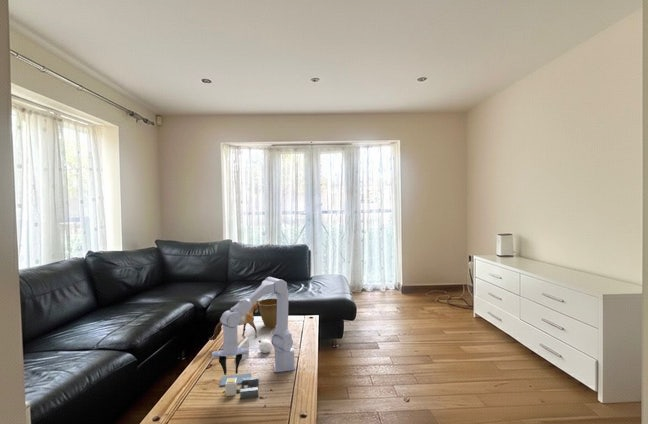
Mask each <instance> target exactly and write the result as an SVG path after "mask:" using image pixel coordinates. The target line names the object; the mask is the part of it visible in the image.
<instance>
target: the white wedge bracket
mask: <svg viewBox="0 0 648 424" xmlns="http://www.w3.org/2000/svg"><path fill="white" fill-rule="evenodd" d="M245 337H246V338H245V339H243V340H242V341H241V342H240V343H238V348H249V349H250V346H249V345H250V343H249V342H250V341H249V339H250V338H249V337H248V336H245ZM235 358H236V355H235V356H234V359H235ZM248 358H250V354H249V355H246V354H245V355H242V359H241V361H243V360H245V359H248Z"/></svg>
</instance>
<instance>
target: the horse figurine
mask: <svg viewBox="0 0 648 424" xmlns="http://www.w3.org/2000/svg"><path fill="white" fill-rule="evenodd" d="M259 301H260V300H257V301H256V302H255V303H253V304H252V309H251V310H249V311H248V312H247V313H246V314H245V315H244V316H243V317H242V318H241V320H240V323H239V324H238V325H237V326H243V329H242V337H243V338H242V339H243V340H244V339H245V338H246V337H247V336H245V333H246V326H247V324H249V325H250V326H251V327H252V329H253V330H254V337H256V338H258V331H257V327H256V325H255V322H254V320H255V317H254V312H255V314H256V313H258V312H259V310H258V309H259V305H258V302H259ZM222 331H223V324H222V323H221V321H219V322H218V323H217V325H216V326H215V327H214V331H213V335H212V336H211V337H209V338H208V340H209V341H216V340H217V339H218V337H219V336H220V334H221V332H222Z"/></svg>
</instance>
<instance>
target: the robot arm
mask: <svg viewBox="0 0 648 424" xmlns="http://www.w3.org/2000/svg"><path fill="white" fill-rule="evenodd" d="M266 294H274V296H276V299H277V322H276V326H275V327H276V328H275V329H274V330H273V332H272V337H271V340H270V342H271V344H272V346H273V349H274V363H273V372H274V373H281V372H290V371H295V365H296V364H295V363H296V361H295V360H296V359H295V348H294V347H293V344H294V339H293V338H292V336H293V335H292V333H291V331H290V330H289V328H288V327H289V297H290V296H289V295H290V293H289V288H288V283H287V281H286V280H283V279H279V278H276V277H272V276H268V277H266V278H265V279H264V280H262V281H261V285H259V287H257V288H256V289H255V290H254V291H253V292H252V293H251V294H250V295H249V296H248V297H247V298H244V297H243V298H242V299H239V301H238V302H237V303H236V304H235V305H234V306H232V307H231V308H230V309H228V310H226V311H224V312H223V313H222V315H221V316H220V318H219V322H221V323H222V324H223V325H222V332H223V333H222V337H223V338H222V341H223V344H222V345H223V349H221V350H217V351H215V350H214V351H212V353H211V359H213V360H214V359H215V358H218V362H219V364H220V366H221V368H222V370H223V376H227V371H228V369H227V358H232V357H234V361H235V372H234V373H235V375H238V372H239V371H238V370H239V365H240V363H241V361H242V360H241V359H242V355H245V354H246V355H249V356H250V347H249V348H238V346H239V340H238V339H239V338H238V333H239V332H238V326H239V325H238V324H239V323H240V320H241V318H242V317H243V316H244V315H245V314H246V313H247V312H248V311H249V310H251V309H252V304H253V303H255V302H256V301H257V302H258V301H260V300H259V299H261V298H262V297H264V296H265V295H266ZM235 355H236V358H235Z"/></svg>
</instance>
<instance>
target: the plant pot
mask: <svg viewBox="0 0 648 424" xmlns="http://www.w3.org/2000/svg"><path fill="white" fill-rule="evenodd" d="M258 301H259V302H258ZM258 301H257V302H258V305H259V306H258V309H259V310H258V311H259V313H260V318H261V320H262V323H263V325H264V327H265V328H267V329H268V328H270V329H271V328H275V327H276V322H277V298H274V297H273V298H272V297H271V298H264V299H262V300H258Z"/></svg>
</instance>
